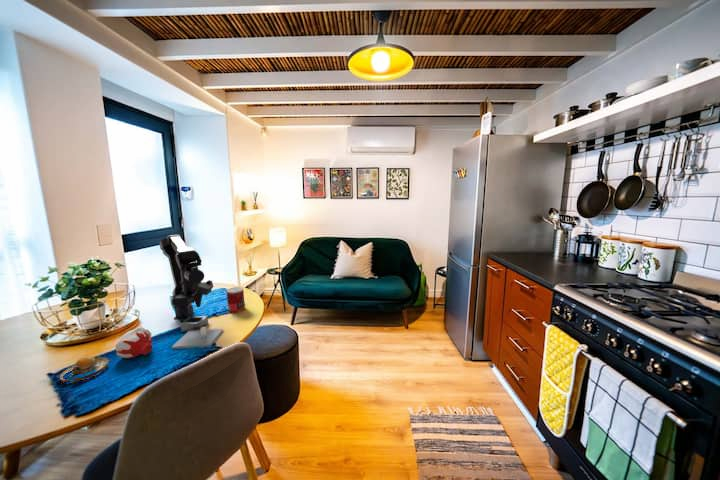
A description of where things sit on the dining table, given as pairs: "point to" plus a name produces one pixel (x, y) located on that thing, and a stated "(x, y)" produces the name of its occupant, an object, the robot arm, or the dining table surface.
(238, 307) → the canned food
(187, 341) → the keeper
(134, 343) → the red white ovoid
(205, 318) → the link
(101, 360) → the ringed planet model
